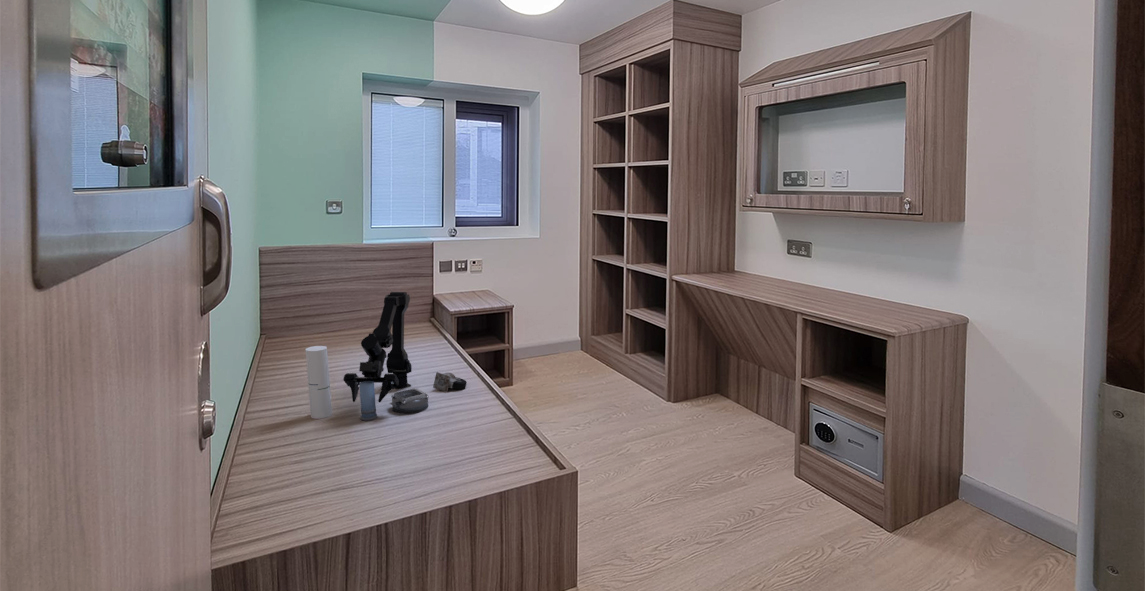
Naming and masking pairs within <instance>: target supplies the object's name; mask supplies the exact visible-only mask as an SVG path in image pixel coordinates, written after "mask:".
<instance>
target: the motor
mask: <svg viewBox="0 0 1145 591" xmlns="http://www.w3.org/2000/svg"><path fill="white" fill-rule="evenodd" d="M390 397H391V406H392V411H393V412H394V413H396V414H400V415H404V414H405V415H409V414H417V413H420V412H423V411H426V410H427V409H428V408H429V395H428V394H427V393H426V392H424V391H422V390H420V389H418V388H409V389H405V390H401V391H395V392H394V393H393V394H391V396H390Z"/></svg>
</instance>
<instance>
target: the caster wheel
mask: <svg viewBox="0 0 1145 591" xmlns="http://www.w3.org/2000/svg"><path fill="white" fill-rule="evenodd" d="M465 387H467V381H466V380H465V379H463V378H461V377H456V375H455V374H453V373H452V372H443V373H441V372H438V371H436V372H435V377H434V382H433V386H432V388H433V389H435V390H439V391H442V392H444V393H448V391H449V389H456V390H464V389H466V388H465Z"/></svg>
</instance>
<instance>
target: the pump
mask: <svg viewBox="0 0 1145 591" xmlns="http://www.w3.org/2000/svg"><path fill="white" fill-rule="evenodd" d="M358 387H359V400H360V401H359V402H360V420H361V421H364V422H368V421H369V422H370V421H374V420H377V419H378V414H377V407H376V405H377V404H376V392H375V391H376V390H375V383H374V382H373V381H364V382H360V383H359V385H358Z"/></svg>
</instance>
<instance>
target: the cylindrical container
mask: <svg viewBox="0 0 1145 591" xmlns="http://www.w3.org/2000/svg"><path fill="white" fill-rule="evenodd" d="M305 360H306V362H305V363H306V374H307V384H308V385H307V386H308V398H309V410H310V411H309V412H310V418H312V419H315V420H318V419H319V420H320V419H325V418H329V417H331V416H332V415H333V408H332V407H333V406H332V398H331V383H330V368H329V355H328V346H325V345H314V346H309V347H306V348H305Z"/></svg>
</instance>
